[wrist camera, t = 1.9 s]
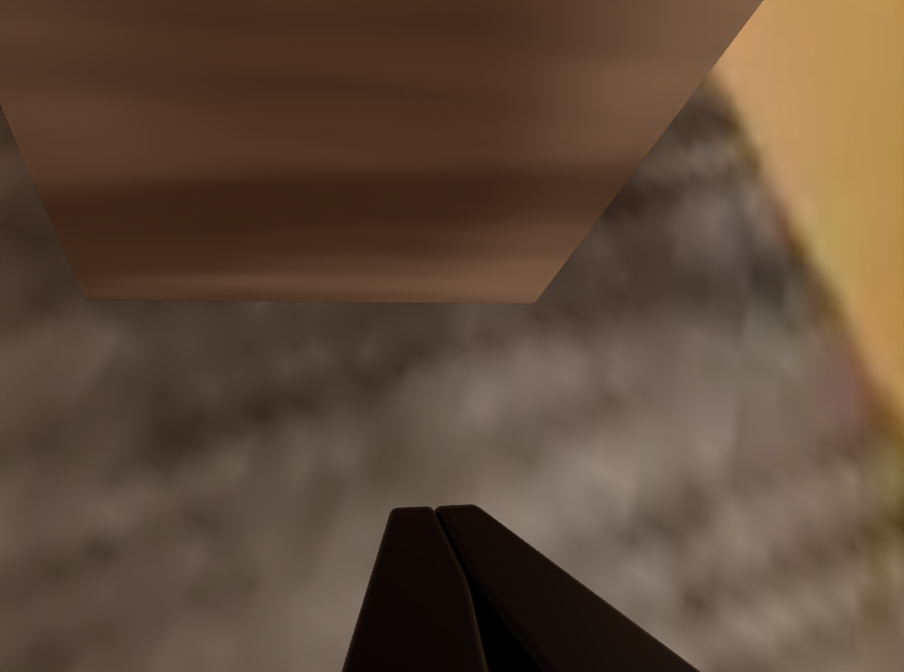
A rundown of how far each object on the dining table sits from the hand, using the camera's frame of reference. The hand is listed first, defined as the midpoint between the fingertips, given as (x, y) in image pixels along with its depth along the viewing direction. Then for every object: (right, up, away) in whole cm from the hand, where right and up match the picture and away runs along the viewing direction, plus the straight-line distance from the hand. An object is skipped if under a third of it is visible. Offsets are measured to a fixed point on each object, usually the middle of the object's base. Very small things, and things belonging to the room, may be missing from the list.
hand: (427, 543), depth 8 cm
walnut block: (-3, +5, +11) cm, 13 cm away
